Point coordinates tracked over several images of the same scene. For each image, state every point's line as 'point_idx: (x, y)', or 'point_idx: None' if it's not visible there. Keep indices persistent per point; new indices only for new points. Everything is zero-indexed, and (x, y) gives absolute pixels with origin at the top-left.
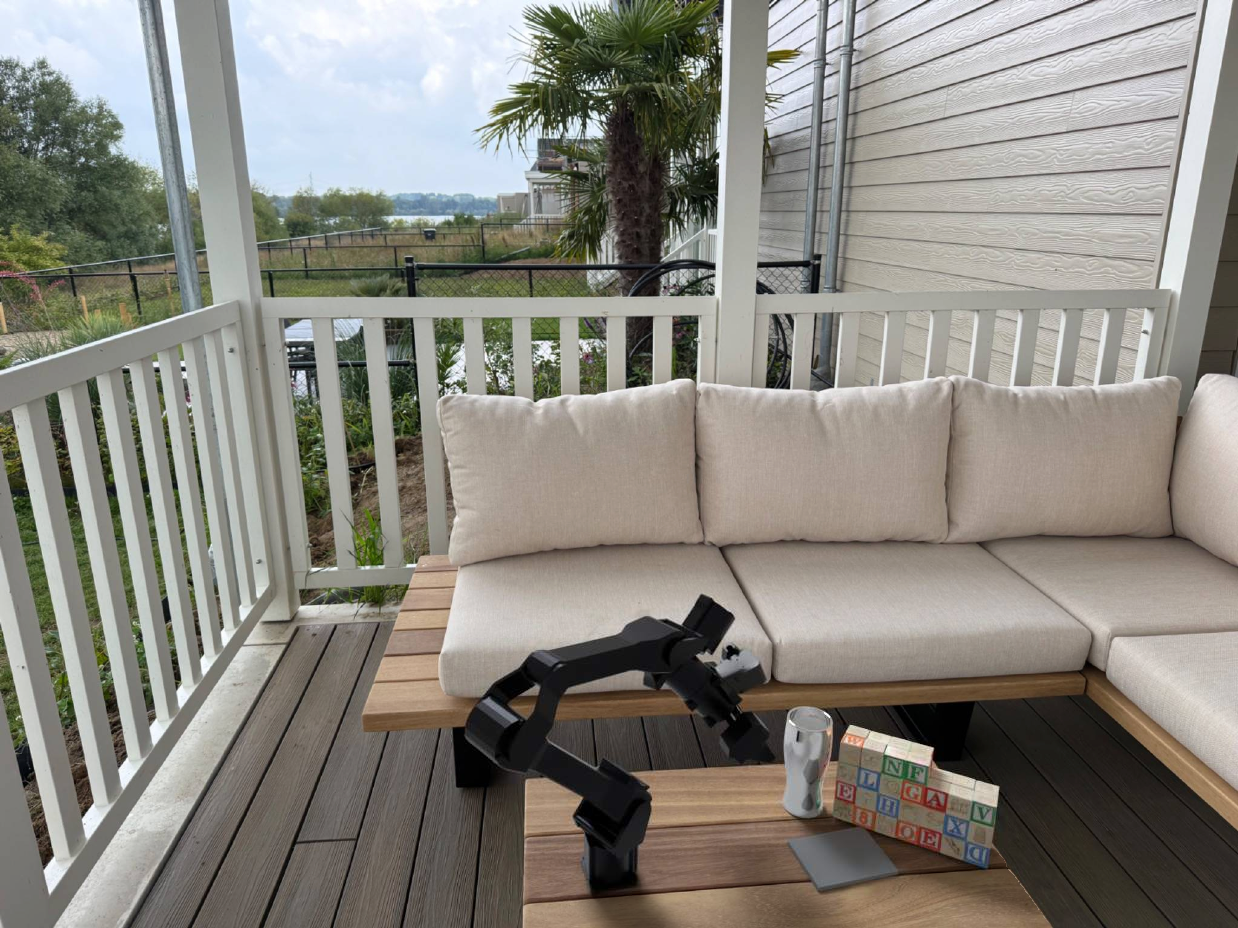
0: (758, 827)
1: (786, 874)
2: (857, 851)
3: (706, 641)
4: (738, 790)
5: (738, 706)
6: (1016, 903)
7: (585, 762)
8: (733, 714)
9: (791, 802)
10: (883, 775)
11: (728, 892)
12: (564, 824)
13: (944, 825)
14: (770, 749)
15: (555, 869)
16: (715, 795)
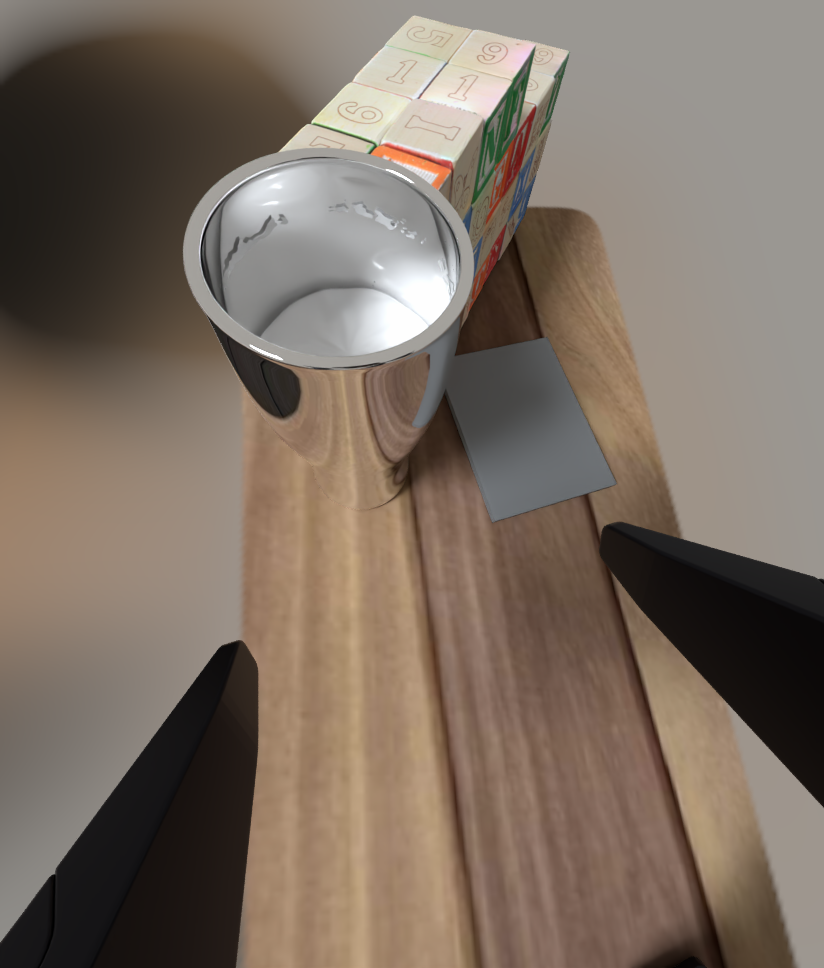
0: (445, 582)
1: (579, 540)
2: (509, 389)
3: None
4: (303, 620)
5: (156, 843)
6: (572, 215)
7: None
8: (215, 842)
9: (390, 489)
10: (476, 207)
11: (655, 679)
12: None
13: (513, 202)
14: (742, 556)
15: None
16: (323, 694)
